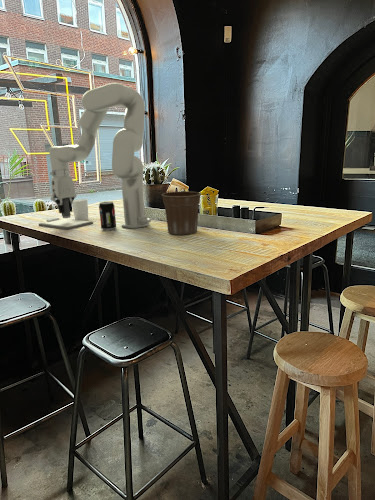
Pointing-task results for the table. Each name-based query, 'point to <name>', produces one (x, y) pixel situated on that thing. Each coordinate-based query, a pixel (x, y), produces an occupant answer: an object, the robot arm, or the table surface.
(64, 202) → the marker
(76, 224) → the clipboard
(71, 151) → the robot arm
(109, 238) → the table surface
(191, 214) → the plant pot
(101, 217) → the beverage can
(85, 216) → the white cup
